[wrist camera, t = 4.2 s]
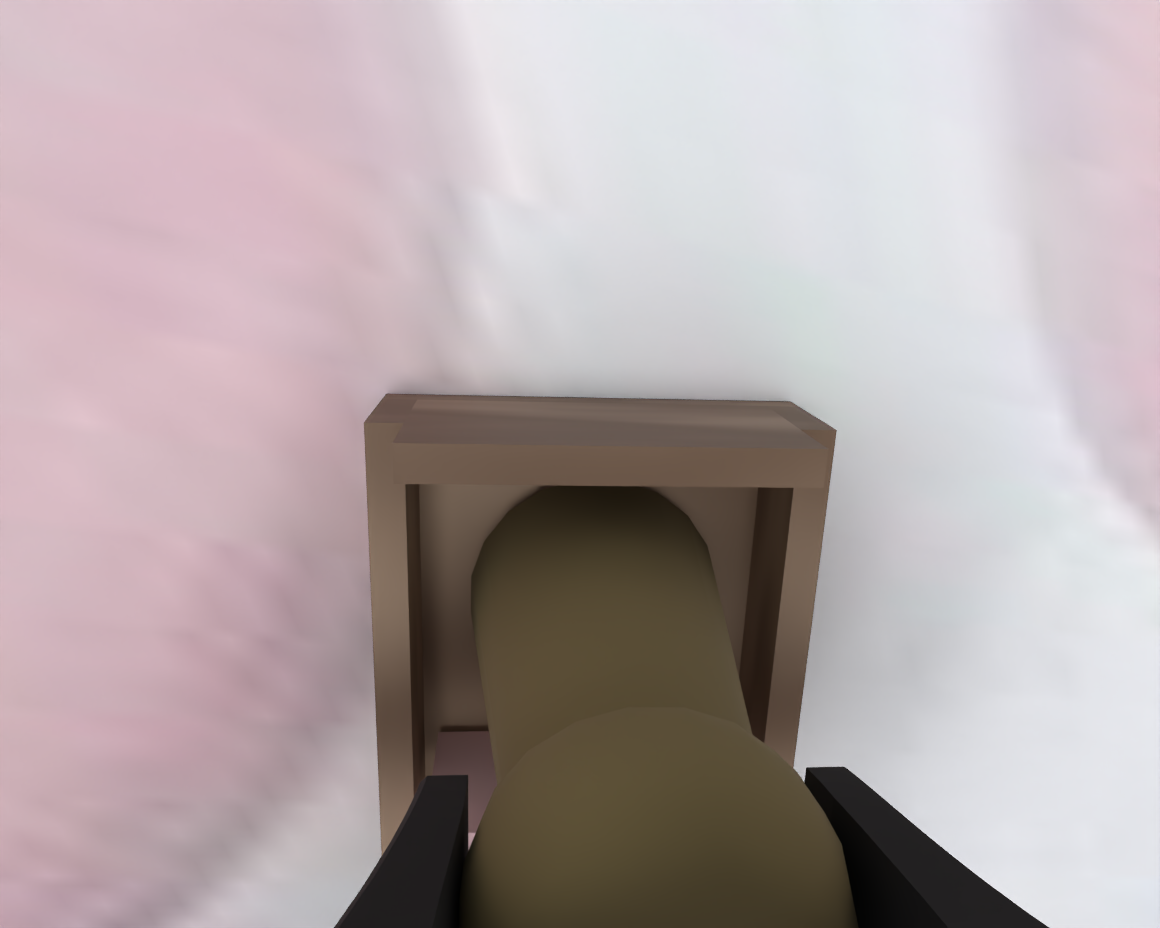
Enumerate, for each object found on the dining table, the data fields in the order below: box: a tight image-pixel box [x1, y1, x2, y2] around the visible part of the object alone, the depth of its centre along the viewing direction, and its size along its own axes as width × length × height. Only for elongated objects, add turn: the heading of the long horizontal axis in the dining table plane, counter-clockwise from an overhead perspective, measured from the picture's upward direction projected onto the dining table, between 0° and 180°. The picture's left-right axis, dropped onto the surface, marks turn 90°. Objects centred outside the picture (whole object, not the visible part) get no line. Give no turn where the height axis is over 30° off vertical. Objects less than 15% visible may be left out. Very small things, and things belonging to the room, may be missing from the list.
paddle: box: [432, 731, 497, 850], centre depth 20 cm, size 1×8×4 cm, turn 88°
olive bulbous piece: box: [459, 485, 859, 928], centre depth 14 cm, size 6×6×11 cm
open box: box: [364, 394, 836, 855], centre depth 20 cm, size 15×10×5 cm, turn 178°
